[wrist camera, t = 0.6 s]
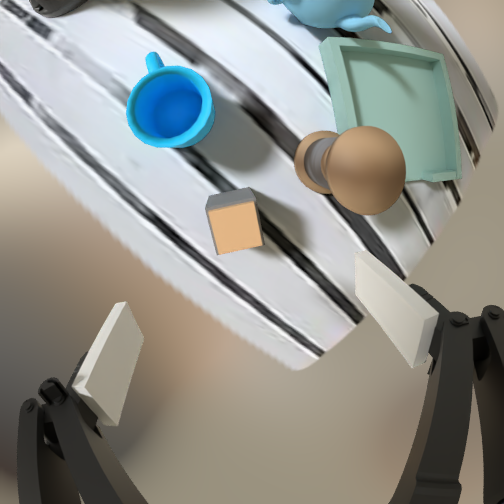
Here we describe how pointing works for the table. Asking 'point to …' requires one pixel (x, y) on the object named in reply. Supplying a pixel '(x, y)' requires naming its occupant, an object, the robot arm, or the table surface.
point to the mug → (170, 106)
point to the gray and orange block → (234, 221)
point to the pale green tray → (397, 101)
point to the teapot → (335, 14)
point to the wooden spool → (353, 167)
